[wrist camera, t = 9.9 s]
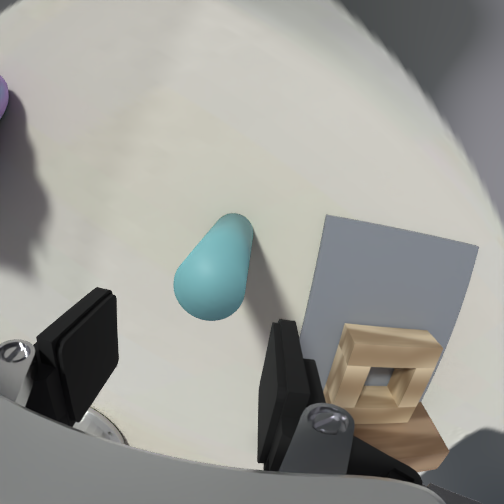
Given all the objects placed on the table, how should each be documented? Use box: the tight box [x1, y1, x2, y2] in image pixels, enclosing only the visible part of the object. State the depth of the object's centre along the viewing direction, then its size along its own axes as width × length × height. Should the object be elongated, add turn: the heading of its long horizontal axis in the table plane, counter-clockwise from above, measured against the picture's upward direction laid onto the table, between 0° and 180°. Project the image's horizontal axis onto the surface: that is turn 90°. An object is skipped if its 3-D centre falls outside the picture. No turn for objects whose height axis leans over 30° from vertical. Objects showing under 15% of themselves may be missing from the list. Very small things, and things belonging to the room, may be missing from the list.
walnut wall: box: [353, 402, 449, 472], centre depth 29 cm, size 3×18×10 cm, turn 81°
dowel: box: [174, 213, 253, 321], centre depth 23 cm, size 4×4×14 cm
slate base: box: [299, 215, 479, 402], centre depth 32 cm, size 24×18×1 cm
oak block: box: [323, 323, 443, 424], centre depth 30 cm, size 10×10×4 cm
